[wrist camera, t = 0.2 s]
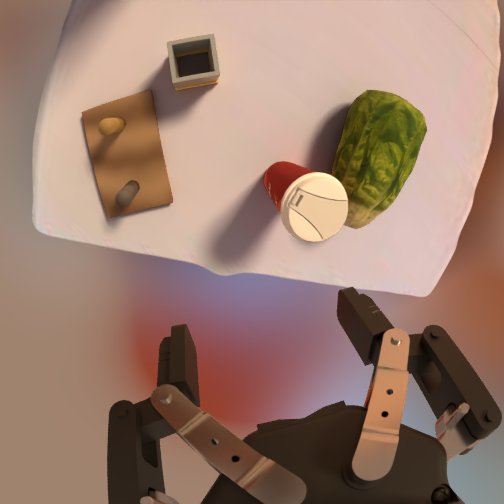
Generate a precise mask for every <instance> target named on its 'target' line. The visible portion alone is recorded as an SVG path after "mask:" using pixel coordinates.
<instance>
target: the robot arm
mask: <svg viewBox="0 0 504 504" xmlns="http://www.w3.org/2000/svg"><path fill="white" fill-rule="evenodd" d="M337 317H338V320H339V322H340V324H341V326H342V327H343V329H344V331H345V332H346V334H347V336H348V337H349V339H350V341H351V342H352V344H353V346H354V347H355V349H356V351H357V352H358V354H359V356H360V357H361V359H362V361H363V363H364V364H365V366H366V365H369V364H371V363H372V364H373V365H374V370H373V374H372V378H371V382H370V386H369V390H368V394H367V397H366V401H365V404H364V407H362V406H355V405H347V406H346V405H345V403H344V401H340V402H338V403H335V404H332V405H329V406H325V407H323V408H321V409H319V410H318V411H316V412H314V413H313V414H311V415H309V416H307V417H305V418H302V419H285V420H276V421H271V422H267V423H262V424H258V425H257V428H258V430H257V431H255V432H253V433H251V434H249V435H248V436H247V437H245V438H244V439H243V440H241V439H239V438H238V437H237V436H235V435H234V434H233V433H232V432H230V431H229V430H228V429H226V428H225V427H224V426H222V425H221V424H220V423H219V422H218V421H216V420H215V419H214V418H213V417H212V416H211V415H209V414H208V413H204V412H202V411H201V410H200V409H199V408H198V407H200V399H199V385H198V370H197V354H196V349H195V345H194V342H193V339H192V337H191V334H190V332H189V329H188V327H187V325H186V324H182V325H176V326H172V328H171V337H165V338H164V339H163V341H162V342H161V344H160V348H159V363H158V378H157V388H156V389H155V390H154V391H153V392H152V394H151V397H149V398H148V399H146V400H143V401H141V402H138V403H136V404H132V403H131V402H130V401H126V400H122V401H118V402H116V403H115V404H114V405H113V406H112V407H111V409H110V412H109V424H108V425H109V426H108V453H107V470H108V471H107V476H108V500H109V504H179V503H178V502H177V501H176V500H175V499H174V498H172V497H170V496H168V495H166V494H165V487H164V479H163V470H162V461H161V451H160V439H161V438H164V437H166V436H169V435H171V434H174V433H177V434H178V435H179V436H180V437H181V438H182V439H183V440H184V441H185V442H186V443H187V444H188V445H189V446H190V447H191V448H192V449H193V450H194V451H195V452H196V453H197V454H198V455H199V456H200V457H201V458H202V459H203V460H205V461H206V462H207V463H208V464H209V465H210V466H211V467H212V468H213V469H215V470H216V471H217V472H218V473H219V474H220V475H219V476H218V478H217V480H216V481H215V483H214V484H213V486H212V487H211V489H210V490H209V492H208V493H207V495H206V496H205V498H204V499H203V501H202V502H201V504H465V503H464V502H463V501H462V500H461V499H460V498H459V497H458V496H457V495H456V494H455V492H454V491H453V490H452V489H451V487H450V486H449V483H448V478H447V461H449V460H450V459H452V458H454V457H455V456H457V455H458V454H459V455H463V454H466V453H468V452H469V451H470V450H472V449H473V448H474V447H475V446H477V445H478V444H479V443H480V442H481V441H483V440H484V439H485V438H486V437H487V436H489V435H490V434H491V433H492V432H493V431H494V430H495V429H496V428H498V426H499V425H500V423H501V420H502V414H501V411H500V409H499V407H498V406H497V404H496V402H495V401H494V399H493V398H492V396H491V395H490V393H489V392H488V390H487V389H486V387H485V385H484V384H483V382H482V381H481V379H480V378H479V377H478V375H477V373H476V372H475V371H474V369H473V368H472V367H471V365H470V363H469V362H468V361H467V359H466V358H465V356H464V355H463V354H462V353H461V351H460V350H459V349H458V347H457V346H456V344H455V343H454V342H453V341H452V339H451V338H450V336H449V335H448V334H447V333H446V331H445V330H444V329H443V328H441V327H440V326H437V325H430V326H427V327H426V328H425V329H424V331H423V333H422V334H413V335H408V334H407V333H406V332H405V331H403V330H401V329H395V328H394V327H393V326H392V324H391V323H390V322H389V320H388V319H387V318H386V317H385V315H384V314H383V313H382V311H380V309H379V308H378V307H377V306H376V304H375V303H374V301H373V300H372V299H371V298H370V297H368V296H366V295H365V294H360V295H359V294H358V292H357V291H356V290H355V288H353V287H350V288H346V289H342V290H339V292H338V305H337ZM411 373H412V375H413V377H414V378H415V380H416V382H417V384H418V385H419V387H420V389H421V391H422V392H423V394H424V396H425V398H426V400H427V401H428V403H429V405H430V407H431V409H432V411H433V412H434V414H435V416H436V418H437V422H436V424H435V431H436V436H437V439H436V438H434V437H432V436H430V435H427V434H425V433H422V432H420V431H417V430H415V429H413V428H410V427H408V426H406V425H403V424H401V419H402V414H403V409H404V403H405V397H406V391H407V383H408V377H409V374H411Z"/></svg>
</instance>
